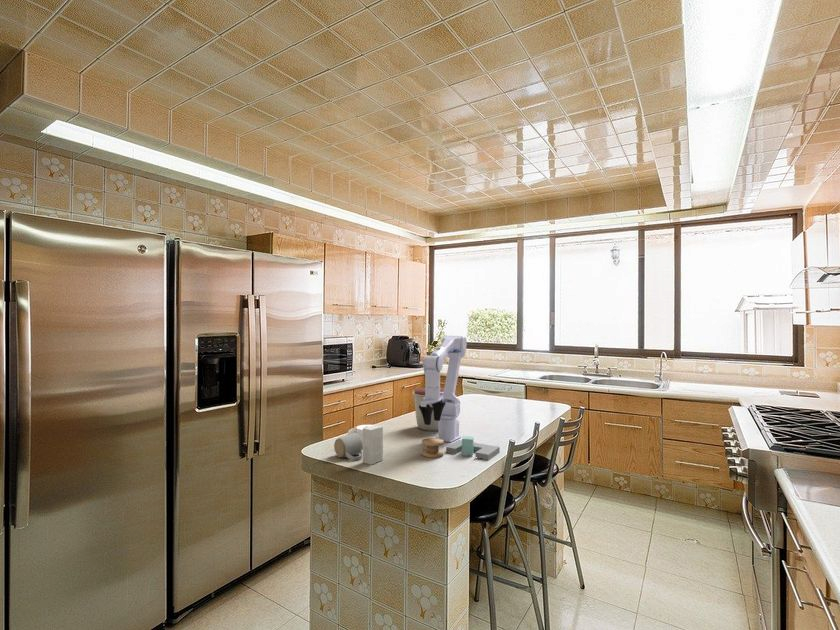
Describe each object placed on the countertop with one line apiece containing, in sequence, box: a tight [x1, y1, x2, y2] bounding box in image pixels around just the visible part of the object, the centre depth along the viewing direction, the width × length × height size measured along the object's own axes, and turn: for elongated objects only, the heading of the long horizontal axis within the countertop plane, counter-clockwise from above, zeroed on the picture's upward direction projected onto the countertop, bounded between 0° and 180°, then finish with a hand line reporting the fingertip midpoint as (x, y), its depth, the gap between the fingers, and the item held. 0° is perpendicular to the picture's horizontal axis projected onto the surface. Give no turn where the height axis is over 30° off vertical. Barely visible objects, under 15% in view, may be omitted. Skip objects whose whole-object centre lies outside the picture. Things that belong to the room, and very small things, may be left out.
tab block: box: [461, 435, 475, 456], centre depth 161 cm, size 4×4×6 cm
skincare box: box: [362, 424, 384, 465], centre depth 152 cm, size 6×4×12 cm
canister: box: [412, 386, 444, 432], centre depth 198 cm, size 18×18×21 cm
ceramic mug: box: [333, 433, 363, 461], centre depth 157 cm, size 11×8×8 cm
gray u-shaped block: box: [445, 439, 501, 461], centre depth 163 cm, size 11×17×2 cm, turn 59°
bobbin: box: [421, 437, 445, 459], centre depth 160 cm, size 8×8×5 cm
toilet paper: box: [347, 424, 374, 445], centre depth 171 cm, size 8×11×7 cm
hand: (432, 422), depth 166 cm, fingers open, 7 cm apart
